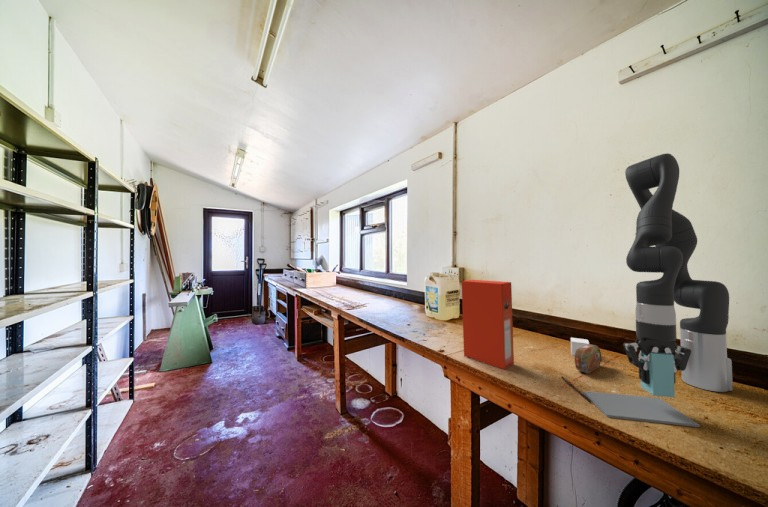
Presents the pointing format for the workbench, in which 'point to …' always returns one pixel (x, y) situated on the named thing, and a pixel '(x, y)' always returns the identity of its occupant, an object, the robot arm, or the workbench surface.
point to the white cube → (577, 344)
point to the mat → (639, 408)
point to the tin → (587, 358)
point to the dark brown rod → (576, 389)
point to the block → (661, 375)
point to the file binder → (488, 322)
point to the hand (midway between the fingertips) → (656, 383)
